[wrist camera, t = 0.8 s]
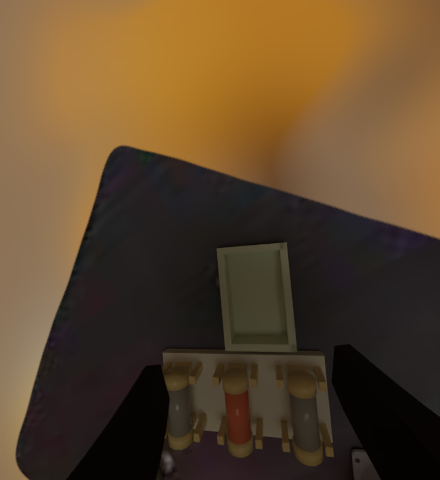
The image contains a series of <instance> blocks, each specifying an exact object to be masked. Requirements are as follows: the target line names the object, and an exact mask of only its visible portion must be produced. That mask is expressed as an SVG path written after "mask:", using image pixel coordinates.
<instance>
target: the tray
mask: <svg viewBox="0 0 440 480" xmlns="http://www.w3.org/2000/svg"><path fill="white" fill-rule="evenodd" d="M217 258H218V269H219V281H220V293H221V305H222V317H223V328H224V340H225V351H255V352H297V345H296V335H295V324H294V314H293V303H292V293H291V283H290V272H289V262H288V251H287V242H286V243H274V244H262V245H251V246H239V247H227V248H217Z"/></svg>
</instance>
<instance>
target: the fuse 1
mask: <svg viewBox="0 0 440 480" xmlns="http://www.w3.org/2000/svg"><path fill="white" fill-rule="evenodd" d="M164 379H165V383H166V386H167V390H168V394H169V397H170V403H169V413H168V422H169V429H168V440H169V446H170V447H171V448H172V449H175V450H182V449H184V448H186V447H188V446H189V445H190V444H191V443H192V441H193V439H194V436H193V433H194V432H193V424H192V422H191V411H190V398H189V385H188V384H189V370H188V368H186V367H183V366H177V367H173V368H170V369H168V370H167V371H166V372H165V373H164Z"/></svg>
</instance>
